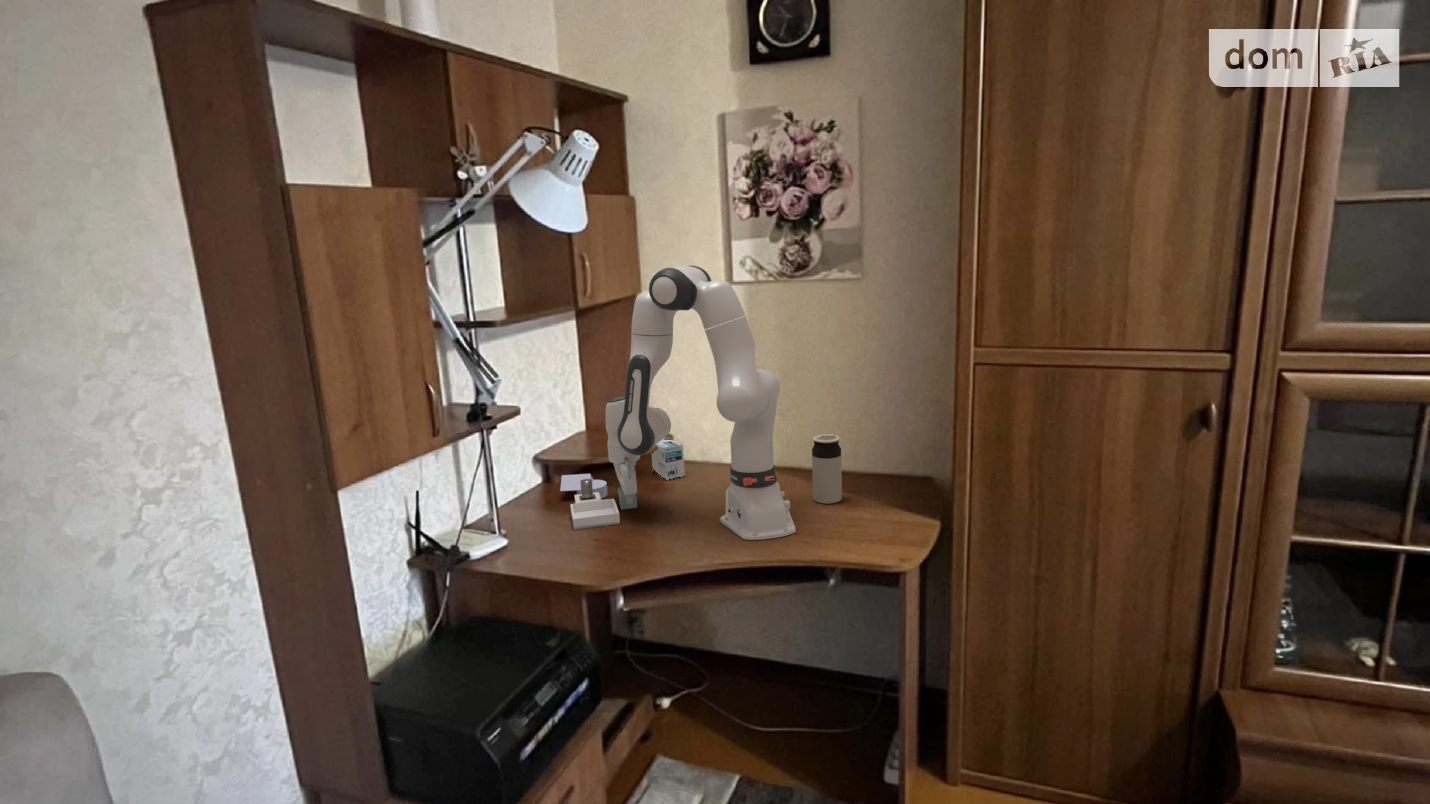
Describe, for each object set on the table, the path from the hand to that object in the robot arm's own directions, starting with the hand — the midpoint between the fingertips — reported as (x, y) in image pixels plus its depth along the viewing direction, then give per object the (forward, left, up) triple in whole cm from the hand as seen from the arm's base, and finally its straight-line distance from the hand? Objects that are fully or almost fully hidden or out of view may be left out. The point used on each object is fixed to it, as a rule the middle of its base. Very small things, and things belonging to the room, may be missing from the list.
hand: (627, 500), depth 220 cm
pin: (+3, +11, -2) cm, 12 cm away
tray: (-7, +10, -2) cm, 12 cm away
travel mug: (-16, -54, -2) cm, 56 cm away
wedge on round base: (+14, +11, -2) cm, 18 cm away
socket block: (+3, +11, -2) cm, 12 cm away
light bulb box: (+24, -16, -2) cm, 29 cm away
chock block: (0, 0, -2) cm, 2 cm away
